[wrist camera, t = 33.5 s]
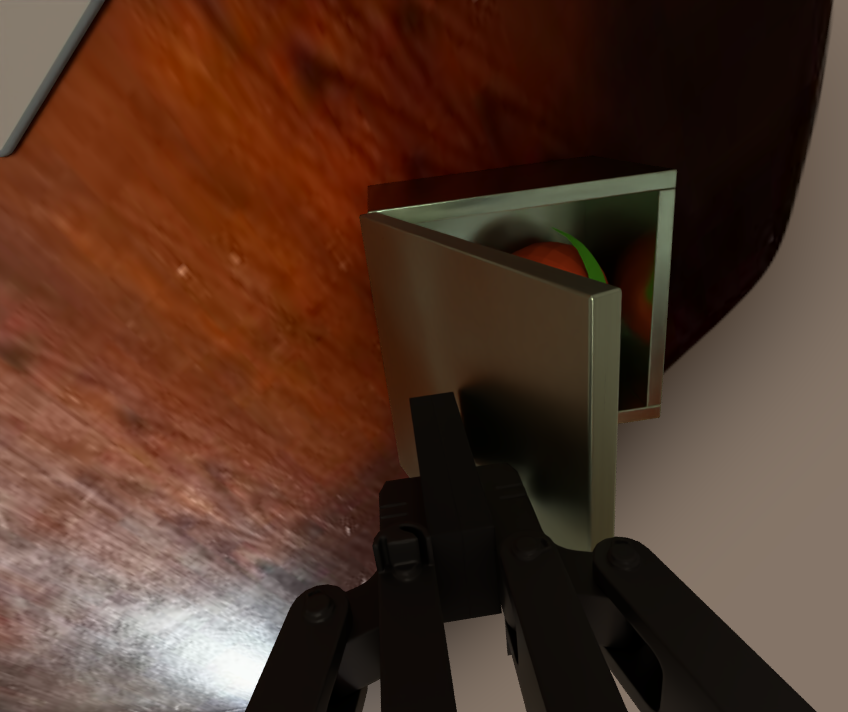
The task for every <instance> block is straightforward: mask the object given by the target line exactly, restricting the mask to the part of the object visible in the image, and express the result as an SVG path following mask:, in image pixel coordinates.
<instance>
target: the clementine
mask: <svg viewBox="0 0 848 712" xmlns="http://www.w3.org/2000/svg"><path fill="white" fill-rule="evenodd" d="M552 228H553V227H552ZM553 229H554V230H556V231H557V232H559V233H561V234H562V235H564V236H565V237H567V238H568V239H569V241H570V242H571V243H572V244H573V245H574V246H572V245H569V244H565V243H560V242H541V243H533V244H531V245H529V246H527V247H524V248H522V249H520V250H518V251H515V252H513V253H512V255H516V256H519V257H522V258H525V259H529V260H532V261H535V262H538V263H541V264H545V265H548V266H551V267H554V268H558V269H561V270H564V271H567V272H570V273H574V274H577V275H580V276H583V277H587V278H590V279H593V280H596V281H600V282H603V283H606V284H608V281H607V278H606V276H605V273H604V271H603V270H602V269H601V267H600V266H599V264H598V262H597V261H596V260H595V258H594V257H593V255H592V254H591V253H590V252H589V250H588V249H587V248H586V247H585V246H584V245H583V244H582V243H581V242H579V241H578V240H577V239H575V238H574V237H573V236H571V235H570V234H567V233H565V232H562V231H560V230H558V229H555V228H553Z"/></svg>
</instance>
